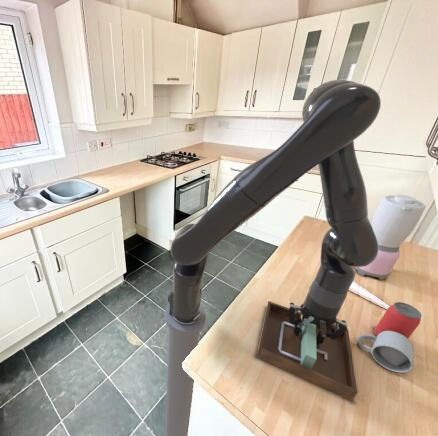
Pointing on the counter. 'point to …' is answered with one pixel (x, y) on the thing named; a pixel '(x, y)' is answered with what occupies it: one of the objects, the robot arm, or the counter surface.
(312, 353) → the hanger
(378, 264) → the blender
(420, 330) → the counter surface
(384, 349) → the ceramic mug
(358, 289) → the unicorn horn
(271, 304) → the tray
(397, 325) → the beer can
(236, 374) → the counter surface
